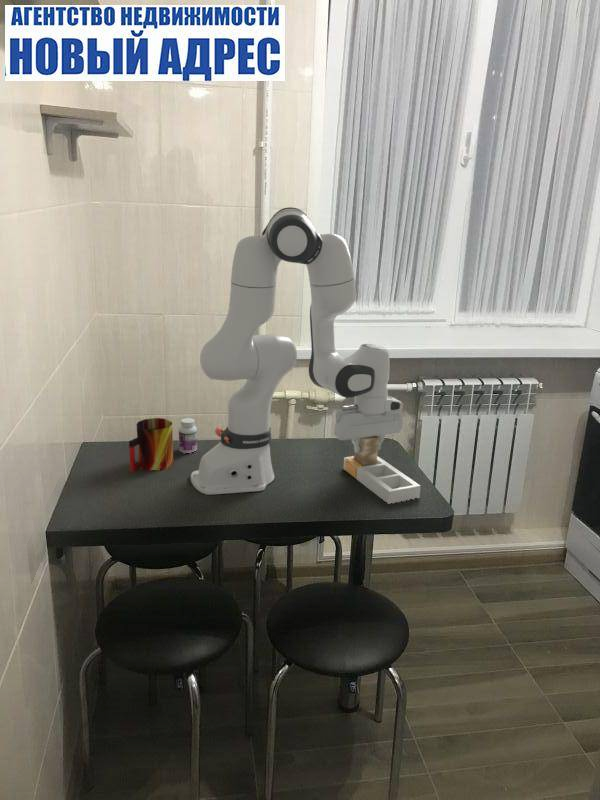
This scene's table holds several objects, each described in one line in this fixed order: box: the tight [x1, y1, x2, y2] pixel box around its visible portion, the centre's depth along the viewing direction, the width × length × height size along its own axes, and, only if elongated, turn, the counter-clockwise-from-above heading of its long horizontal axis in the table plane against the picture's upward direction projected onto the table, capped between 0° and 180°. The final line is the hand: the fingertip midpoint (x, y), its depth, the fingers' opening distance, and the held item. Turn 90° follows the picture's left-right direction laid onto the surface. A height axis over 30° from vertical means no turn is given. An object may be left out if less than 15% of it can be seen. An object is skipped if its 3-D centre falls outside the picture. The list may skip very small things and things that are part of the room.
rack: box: [343, 455, 421, 505], centre depth 173 cm, size 10×24×4 cm, turn 25°
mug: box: [128, 417, 174, 473], centre depth 177 cm, size 10×14×12 cm
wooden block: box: [353, 436, 379, 467], centre depth 179 cm, size 5×5×10 cm
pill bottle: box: [178, 417, 198, 454], centre depth 189 cm, size 5×5×10 cm
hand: (367, 450), depth 178 cm, fingers closed on wooden block, 5 cm apart
